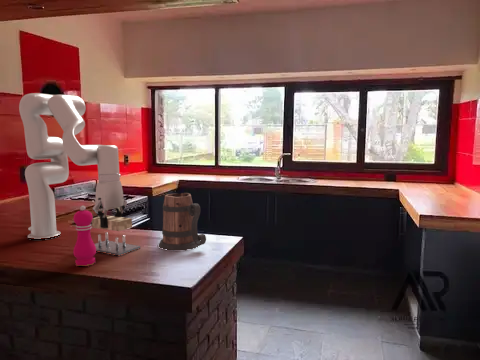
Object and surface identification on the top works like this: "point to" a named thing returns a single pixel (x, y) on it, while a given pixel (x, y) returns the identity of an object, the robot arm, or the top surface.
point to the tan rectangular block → (113, 223)
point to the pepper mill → (84, 238)
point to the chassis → (114, 246)
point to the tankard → (180, 223)
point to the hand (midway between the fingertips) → (111, 225)
